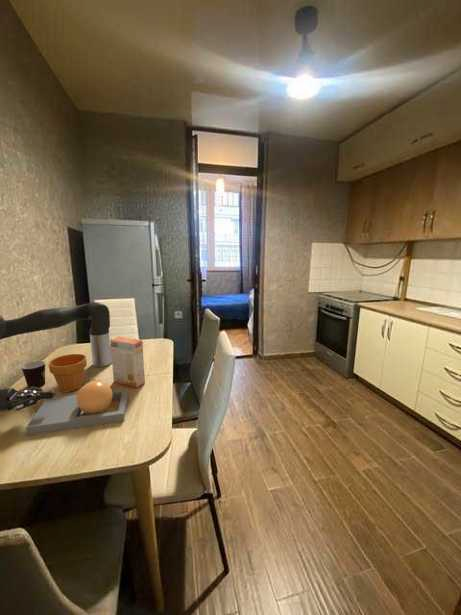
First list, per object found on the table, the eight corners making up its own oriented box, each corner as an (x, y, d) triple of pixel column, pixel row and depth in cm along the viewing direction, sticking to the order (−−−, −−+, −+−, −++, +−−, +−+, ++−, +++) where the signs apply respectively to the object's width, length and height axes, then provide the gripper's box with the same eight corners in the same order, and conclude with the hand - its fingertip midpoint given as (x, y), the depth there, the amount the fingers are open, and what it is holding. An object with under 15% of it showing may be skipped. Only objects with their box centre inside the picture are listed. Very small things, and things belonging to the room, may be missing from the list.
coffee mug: (36, 391, 117) (32, 369, 115) (19, 389, 119) (16, 367, 117) (58, 378, 128) (55, 359, 126) (42, 377, 130) (39, 357, 128)
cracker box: (145, 382, 125) (143, 340, 121) (136, 388, 120) (133, 344, 116) (123, 376, 131) (120, 335, 127) (113, 382, 126) (109, 339, 121)
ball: (83, 384, 108) (112, 394, 112) (67, 413, 99) (100, 423, 103) (89, 370, 101) (121, 381, 105) (74, 401, 92) (108, 411, 96)
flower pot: (50, 385, 122) (46, 358, 119) (84, 376, 131) (82, 351, 128) (55, 399, 111) (50, 369, 109) (92, 388, 120) (89, 360, 117)
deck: (27, 435, 90) (26, 427, 89) (47, 405, 107) (46, 398, 106) (124, 420, 98) (123, 413, 97) (128, 395, 115) (127, 388, 114)
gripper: (-17, 401, 86) (45, 394, 91) (4, 381, 98) (58, 376, 103) (-13, 422, 88) (48, 414, 92) (8, 400, 100) (61, 394, 105)
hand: (53, 394), depth 98 cm, fingers closed
